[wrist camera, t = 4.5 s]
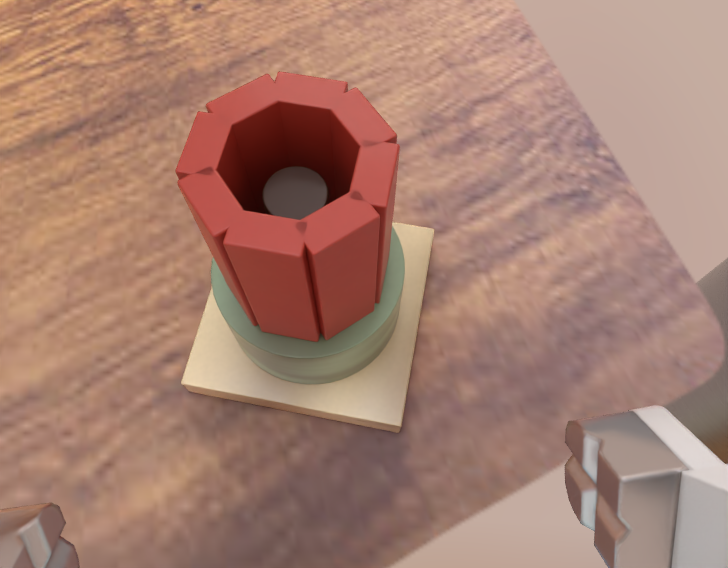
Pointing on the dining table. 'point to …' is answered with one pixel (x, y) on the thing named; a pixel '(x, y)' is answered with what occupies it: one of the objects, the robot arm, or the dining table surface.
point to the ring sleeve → (285, 235)
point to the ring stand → (326, 357)
